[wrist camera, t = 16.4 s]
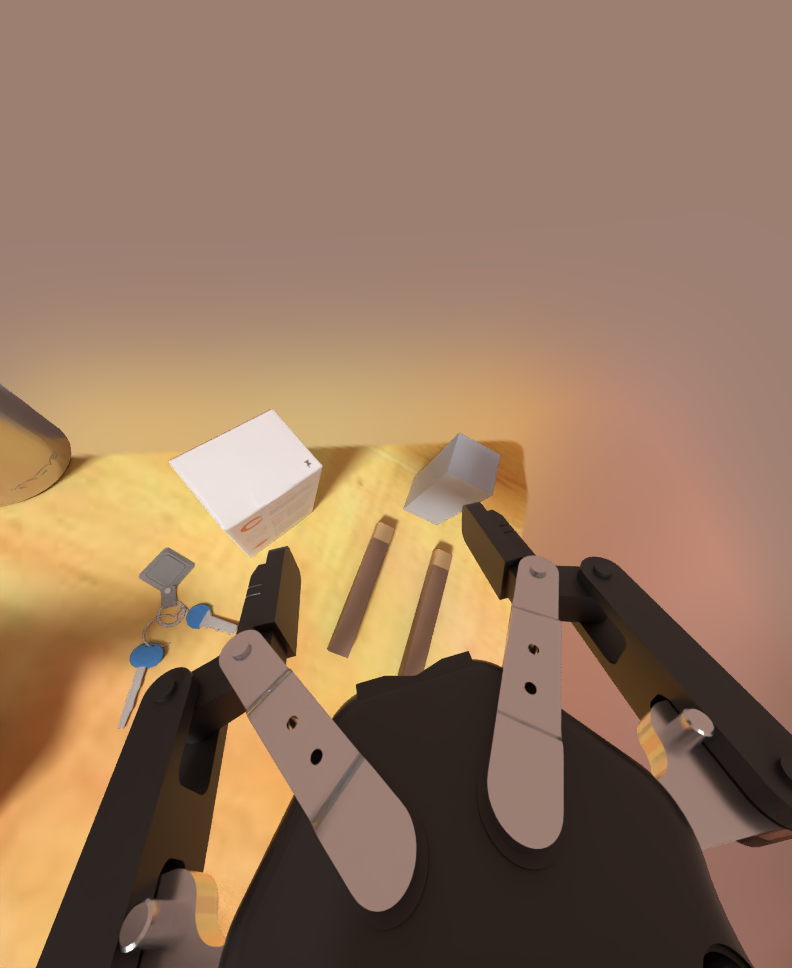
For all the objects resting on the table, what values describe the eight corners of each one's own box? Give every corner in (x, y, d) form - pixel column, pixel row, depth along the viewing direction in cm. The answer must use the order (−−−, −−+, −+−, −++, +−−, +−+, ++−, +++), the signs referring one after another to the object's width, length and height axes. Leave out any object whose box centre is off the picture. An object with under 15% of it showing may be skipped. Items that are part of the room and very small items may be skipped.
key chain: (144, 550, 28) (140, 548, 27) (241, 542, 31) (240, 541, 30) (119, 727, 23) (113, 731, 22) (236, 698, 26) (234, 701, 25)
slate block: (403, 509, 38) (447, 472, 27) (414, 477, 40) (459, 432, 29) (436, 525, 38) (492, 495, 28) (446, 493, 41) (500, 454, 30)
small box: (278, 471, 34) (273, 405, 23) (313, 512, 34) (326, 465, 22) (211, 513, 30) (164, 459, 19) (249, 560, 30) (225, 533, 19)
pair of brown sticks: (327, 648, 29) (328, 650, 28) (376, 524, 36) (379, 521, 34) (414, 681, 31) (420, 684, 30) (446, 556, 37) (452, 555, 36)
